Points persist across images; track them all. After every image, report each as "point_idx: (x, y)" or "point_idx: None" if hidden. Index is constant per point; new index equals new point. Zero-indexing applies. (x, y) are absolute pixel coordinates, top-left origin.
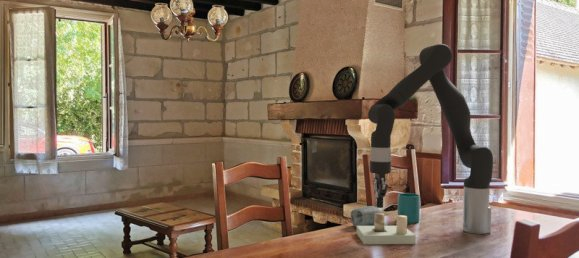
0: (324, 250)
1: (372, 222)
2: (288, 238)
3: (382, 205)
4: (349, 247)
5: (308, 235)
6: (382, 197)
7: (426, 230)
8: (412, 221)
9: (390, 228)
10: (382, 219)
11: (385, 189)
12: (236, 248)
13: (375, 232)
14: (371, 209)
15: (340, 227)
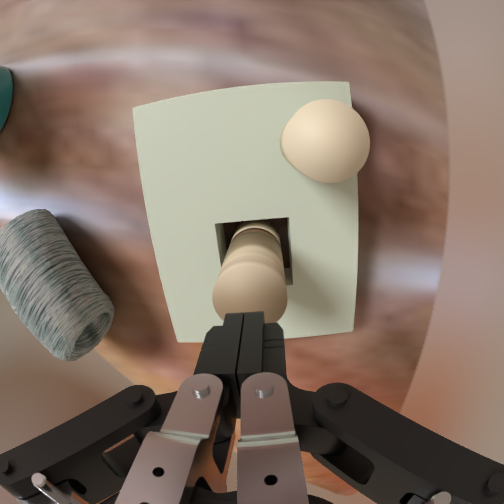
0: (389, 403)
1: (78, 258)
2: None
3: (281, 328)
4: (376, 354)
5: (237, 435)
6: (295, 389)
7: (97, 23)
8: (9, 85)
9: (204, 188)
10: (282, 271)
11: (456, 457)
12: (339, 490)
13: (299, 280)
14: (36, 288)
15: (113, 356)
